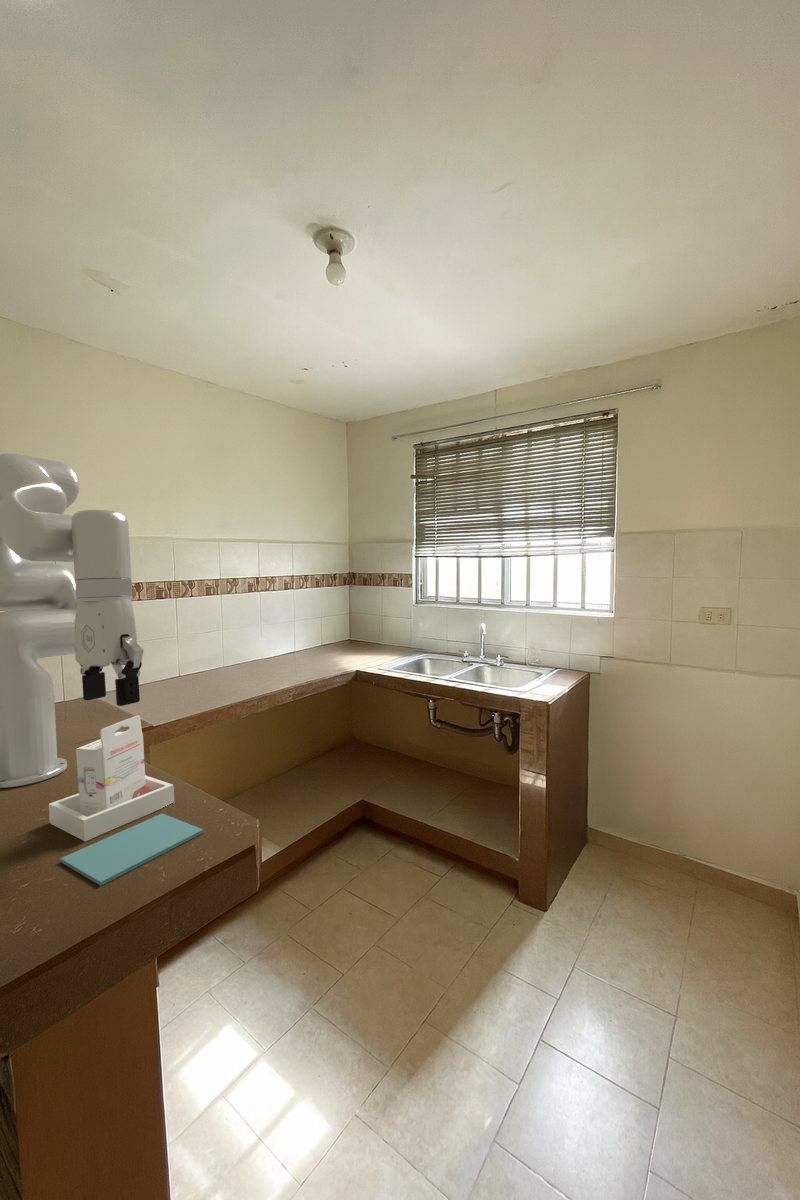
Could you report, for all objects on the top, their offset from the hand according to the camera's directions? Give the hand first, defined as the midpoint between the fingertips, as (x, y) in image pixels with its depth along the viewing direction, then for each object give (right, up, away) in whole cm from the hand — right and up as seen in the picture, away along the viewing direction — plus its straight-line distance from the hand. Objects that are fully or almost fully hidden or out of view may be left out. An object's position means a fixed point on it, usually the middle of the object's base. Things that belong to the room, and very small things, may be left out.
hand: (111, 701), depth 76 cm
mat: (+9, -18, -9) cm, 22 cm away
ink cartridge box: (0, -18, +1) cm, 18 cm away
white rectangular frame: (0, -18, +1) cm, 18 cm away
